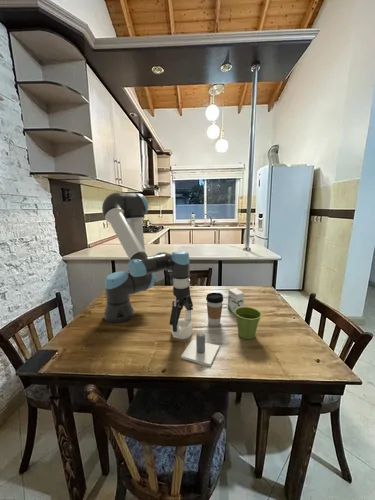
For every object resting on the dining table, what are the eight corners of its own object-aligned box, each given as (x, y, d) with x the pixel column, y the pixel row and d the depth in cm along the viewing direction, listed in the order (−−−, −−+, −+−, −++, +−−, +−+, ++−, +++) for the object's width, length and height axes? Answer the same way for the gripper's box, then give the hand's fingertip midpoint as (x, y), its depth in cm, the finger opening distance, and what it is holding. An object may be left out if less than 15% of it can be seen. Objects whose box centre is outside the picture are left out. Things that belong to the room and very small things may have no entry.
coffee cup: (222, 327, 112) (222, 298, 108) (204, 326, 113) (205, 297, 110) (223, 319, 120) (223, 292, 117) (206, 317, 121) (207, 290, 118)
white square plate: (181, 358, 90) (180, 339, 89) (192, 341, 101) (192, 324, 99) (210, 366, 86) (210, 347, 84) (219, 348, 96) (219, 330, 95)
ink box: (227, 308, 132) (227, 288, 129) (234, 306, 134) (235, 287, 131) (235, 314, 124) (236, 294, 122) (243, 313, 126) (244, 292, 124)
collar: (168, 336, 105) (168, 326, 104) (177, 326, 113) (177, 317, 112) (186, 340, 101) (186, 330, 100) (194, 330, 110) (194, 320, 109)
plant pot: (256, 346, 97) (257, 321, 95) (229, 337, 103) (230, 314, 101) (263, 332, 107) (264, 310, 105) (238, 325, 113) (239, 304, 111)
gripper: (176, 297, 90) (178, 346, 94) (199, 278, 112) (199, 318, 116) (159, 294, 93) (162, 342, 97) (185, 276, 115) (186, 316, 119)
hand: (182, 329), depth 107 cm, fingers open, 13 cm apart
